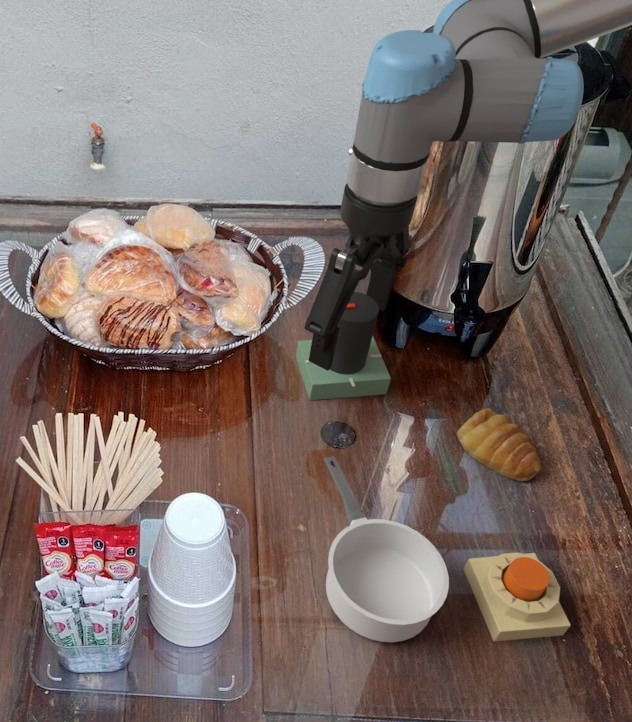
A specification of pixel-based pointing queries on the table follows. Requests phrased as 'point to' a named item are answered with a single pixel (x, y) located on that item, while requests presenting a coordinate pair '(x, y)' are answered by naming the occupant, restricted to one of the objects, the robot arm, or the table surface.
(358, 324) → the timer knob
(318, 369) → the panel
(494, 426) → the pastry
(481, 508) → the table surface
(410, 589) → the saucepan
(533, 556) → the block
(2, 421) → the table surface
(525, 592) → the button
